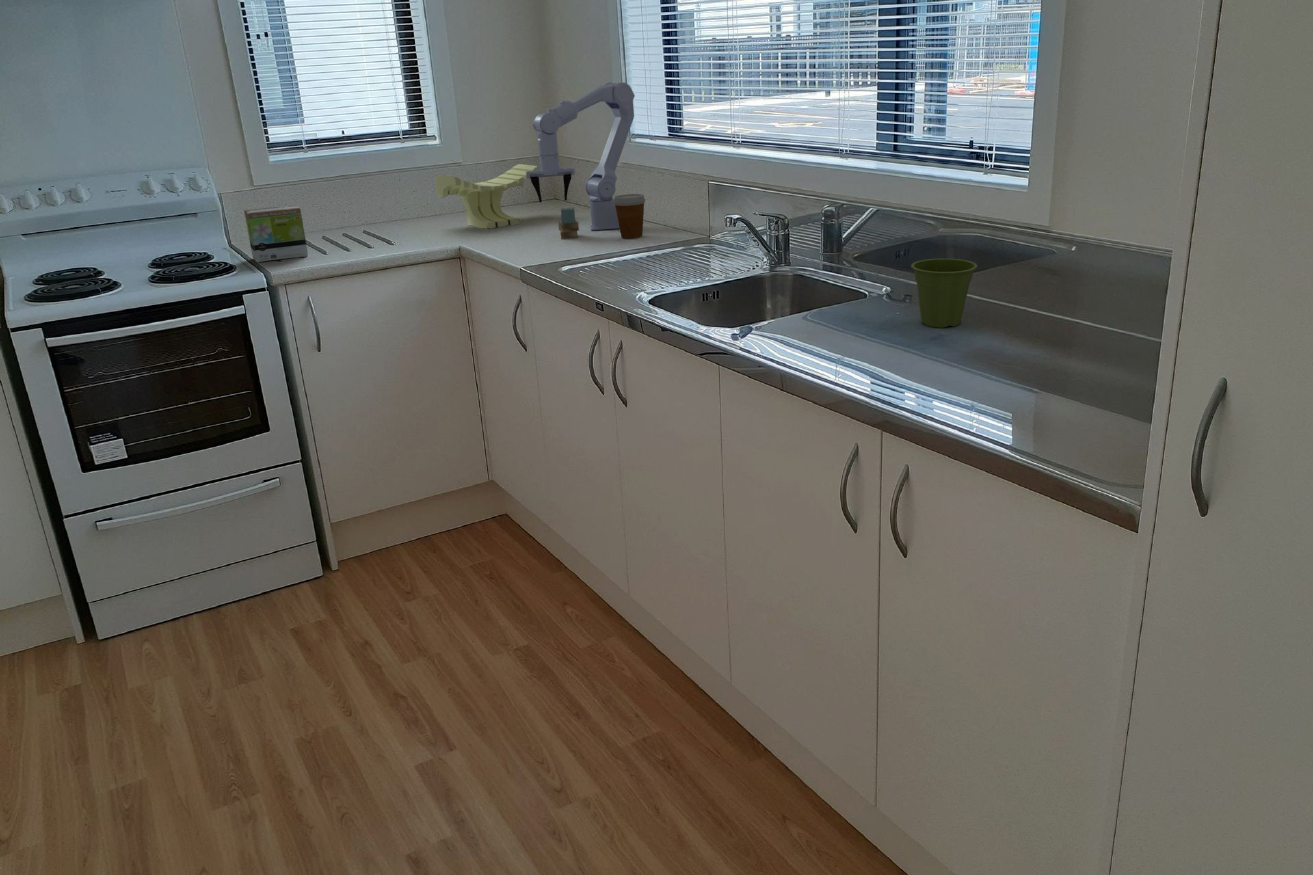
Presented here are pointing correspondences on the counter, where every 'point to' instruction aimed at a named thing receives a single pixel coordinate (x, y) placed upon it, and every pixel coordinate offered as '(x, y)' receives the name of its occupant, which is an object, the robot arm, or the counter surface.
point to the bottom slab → (569, 235)
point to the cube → (568, 215)
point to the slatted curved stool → (484, 196)
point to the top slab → (568, 227)
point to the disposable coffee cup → (630, 215)
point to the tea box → (276, 233)
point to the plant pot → (942, 290)
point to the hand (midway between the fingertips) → (553, 201)
